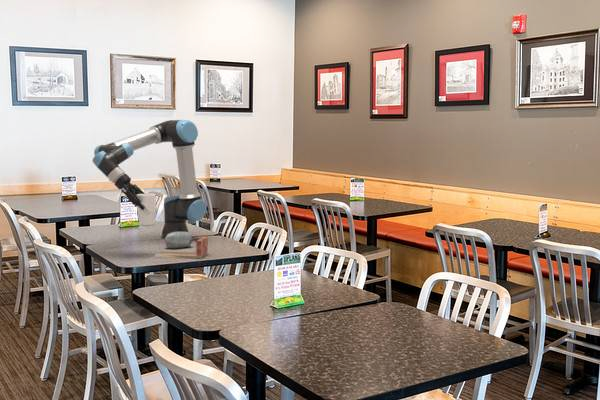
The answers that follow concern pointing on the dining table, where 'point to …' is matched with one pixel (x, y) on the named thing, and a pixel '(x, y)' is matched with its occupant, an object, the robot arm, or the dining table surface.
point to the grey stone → (178, 240)
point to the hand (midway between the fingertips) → (153, 212)
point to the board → (198, 254)
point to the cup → (151, 205)
